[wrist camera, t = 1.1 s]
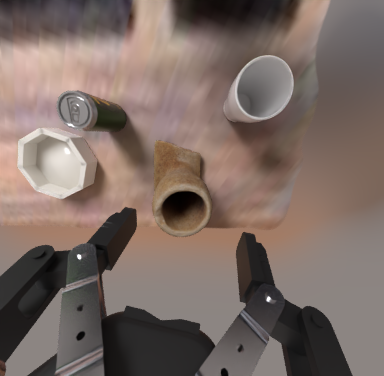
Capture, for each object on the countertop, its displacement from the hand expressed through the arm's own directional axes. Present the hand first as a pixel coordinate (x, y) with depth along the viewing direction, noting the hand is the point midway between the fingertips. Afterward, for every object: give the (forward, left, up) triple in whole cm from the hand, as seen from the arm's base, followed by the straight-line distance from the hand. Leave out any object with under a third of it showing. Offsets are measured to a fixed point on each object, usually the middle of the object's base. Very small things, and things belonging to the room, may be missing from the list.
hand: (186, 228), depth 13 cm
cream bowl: (-13, -26, -26) cm, 39 cm away
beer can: (-16, -11, -26) cm, 32 cm away
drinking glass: (-7, +12, -26) cm, 30 cm away
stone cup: (+1, -4, -26) cm, 27 cm away
